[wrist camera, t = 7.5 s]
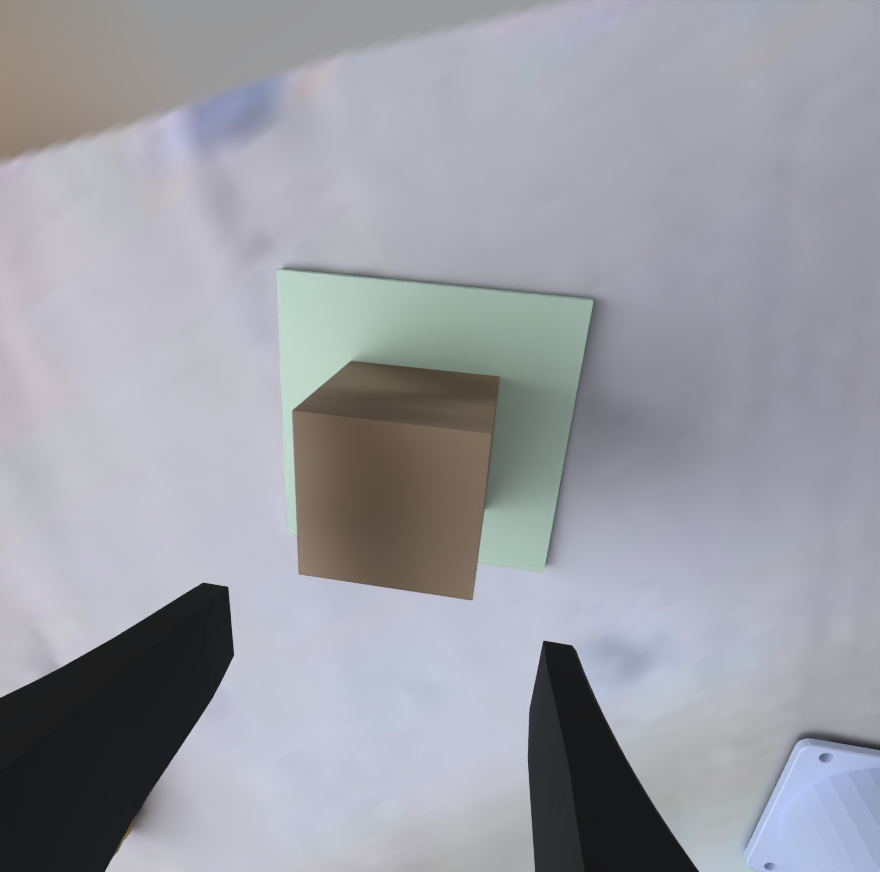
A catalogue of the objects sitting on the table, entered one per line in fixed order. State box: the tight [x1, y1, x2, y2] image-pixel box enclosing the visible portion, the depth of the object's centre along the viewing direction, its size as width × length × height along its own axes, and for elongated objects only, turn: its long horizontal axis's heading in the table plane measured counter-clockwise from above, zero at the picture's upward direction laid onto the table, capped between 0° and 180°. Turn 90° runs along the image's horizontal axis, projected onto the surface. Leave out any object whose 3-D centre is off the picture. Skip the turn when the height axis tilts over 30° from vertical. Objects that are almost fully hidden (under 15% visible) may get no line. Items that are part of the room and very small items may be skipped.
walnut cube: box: [292, 361, 500, 600], centre depth 17 cm, size 5×5×5 cm
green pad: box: [276, 268, 593, 573], centre depth 19 cm, size 10×10×1 cm
